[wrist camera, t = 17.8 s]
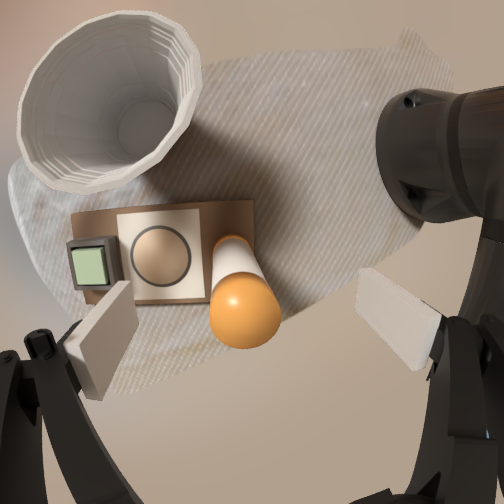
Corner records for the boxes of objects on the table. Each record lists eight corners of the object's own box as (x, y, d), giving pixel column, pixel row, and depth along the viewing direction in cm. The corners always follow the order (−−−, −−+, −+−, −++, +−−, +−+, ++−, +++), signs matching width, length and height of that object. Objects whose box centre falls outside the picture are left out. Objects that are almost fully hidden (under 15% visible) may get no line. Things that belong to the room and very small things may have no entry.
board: (252, 199, 24) (257, 202, 21) (254, 294, 26) (258, 308, 23) (75, 213, 22) (60, 217, 19) (90, 300, 24) (78, 312, 21)
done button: (108, 244, 22) (100, 249, 20) (113, 276, 23) (105, 284, 21) (81, 246, 21) (71, 251, 20) (86, 277, 22) (77, 284, 20)
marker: (250, 232, 24) (282, 283, 12) (251, 269, 24) (280, 345, 13) (211, 234, 23) (206, 288, 12) (213, 271, 24) (212, 350, 12)
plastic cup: (225, 162, 23) (232, 143, 11) (114, 205, 22) (39, 229, 11) (190, 58, 20) (174, -20, 8) (85, 104, 19) (11, 67, 8)
